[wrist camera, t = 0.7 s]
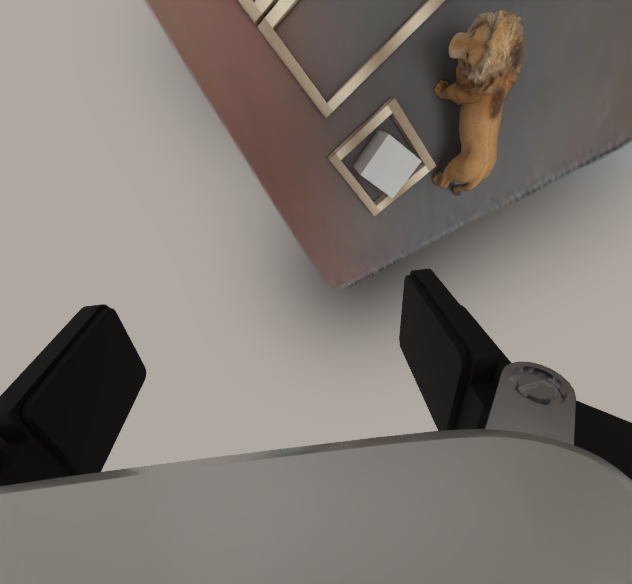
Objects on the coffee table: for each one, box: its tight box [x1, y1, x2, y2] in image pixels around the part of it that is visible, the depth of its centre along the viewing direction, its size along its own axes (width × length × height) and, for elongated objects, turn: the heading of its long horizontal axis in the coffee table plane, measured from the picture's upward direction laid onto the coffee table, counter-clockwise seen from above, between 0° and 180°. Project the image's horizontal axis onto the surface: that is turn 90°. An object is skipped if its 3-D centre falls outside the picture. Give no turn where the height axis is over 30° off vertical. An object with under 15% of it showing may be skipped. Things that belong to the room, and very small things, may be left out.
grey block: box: [353, 129, 422, 198], centre depth 30 cm, size 4×4×4 cm
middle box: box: [258, 0, 445, 118], centre depth 25 cm, size 14×8×1 cm, turn 131°
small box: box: [328, 98, 436, 216], centre depth 31 cm, size 8×8×1 cm
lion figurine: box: [432, 9, 525, 196], centre depth 27 cm, size 15×5×9 cm, turn 18°
